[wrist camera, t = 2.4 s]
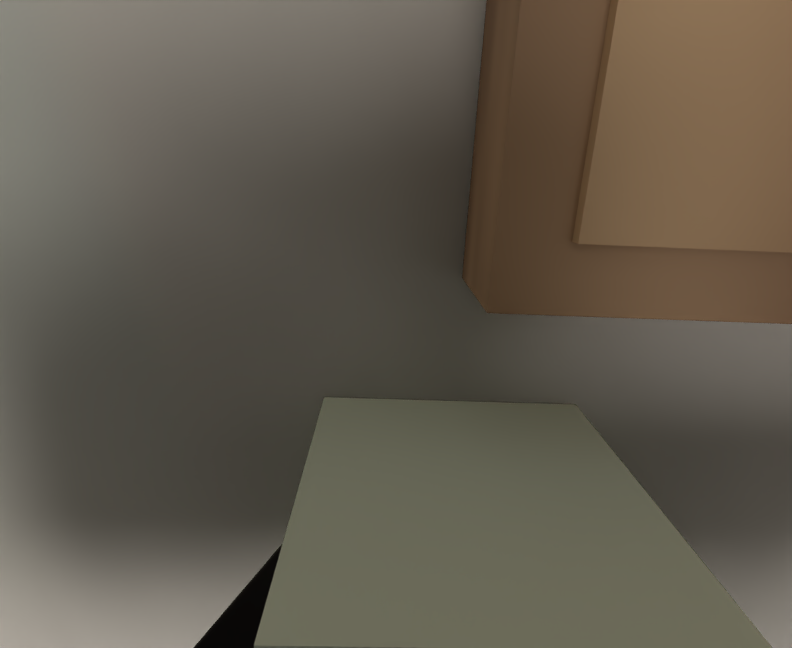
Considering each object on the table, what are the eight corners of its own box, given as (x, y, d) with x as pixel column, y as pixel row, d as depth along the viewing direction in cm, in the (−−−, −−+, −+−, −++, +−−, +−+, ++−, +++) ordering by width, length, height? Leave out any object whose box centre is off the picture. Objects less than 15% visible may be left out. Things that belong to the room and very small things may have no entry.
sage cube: (575, 404, 9) (775, 651, 4) (540, 595, 11) (661, 931, 6) (324, 396, 9) (254, 645, 4) (326, 592, 11) (275, 933, 6)
